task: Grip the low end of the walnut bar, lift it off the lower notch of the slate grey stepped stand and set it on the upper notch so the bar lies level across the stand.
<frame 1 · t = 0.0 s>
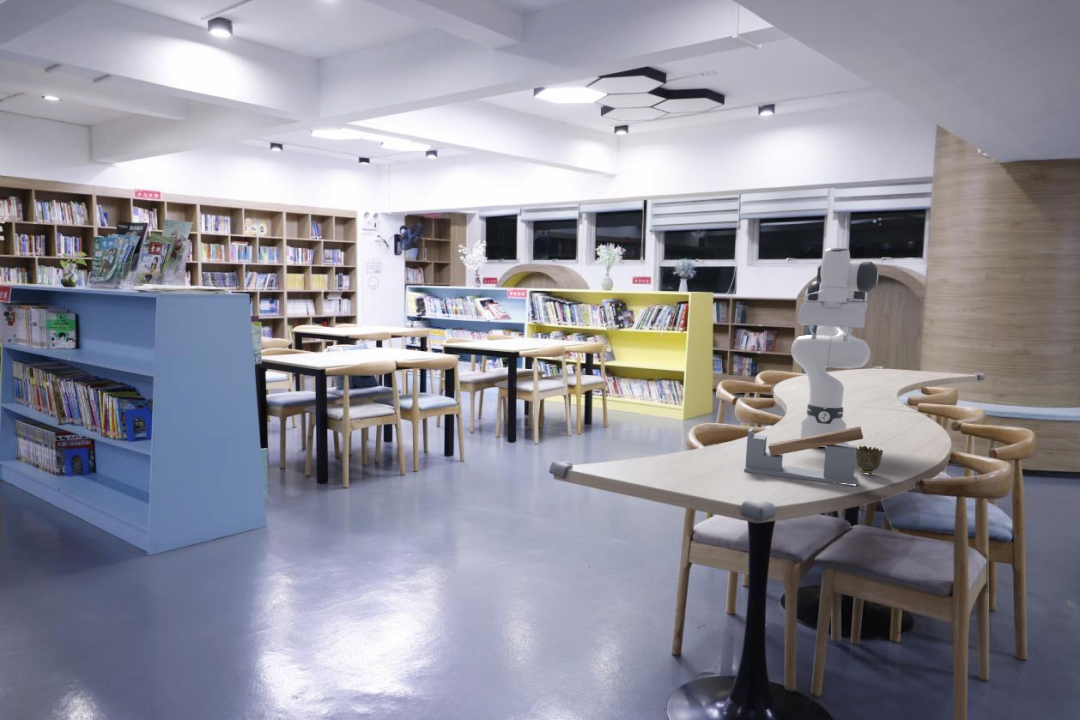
hand: (829, 340, 238), 39 cm above the table, tool pointing down, fingers open, 8 cm apart
walnut bar: (770, 449, 222), point 6 cm above the table, touching notched stand
cup: (867, 475, 223), on the table
notched stand: (800, 474, 219), on the table
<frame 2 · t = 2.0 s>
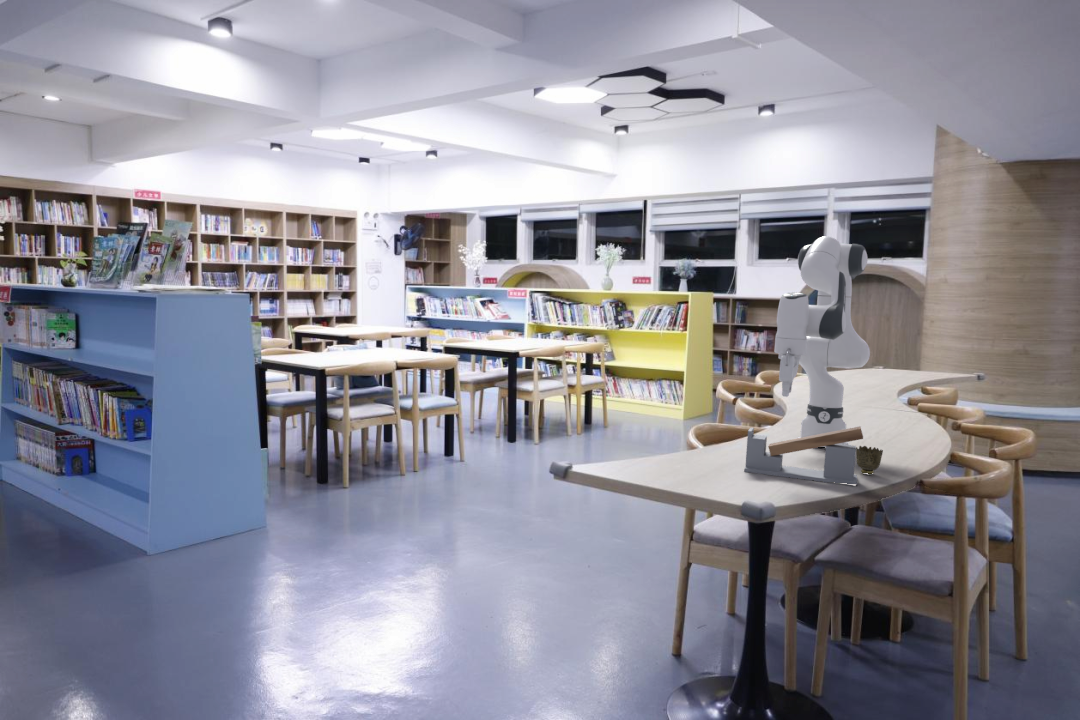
hand: (786, 394, 219), 24 cm above the table, tool pointing down, fingers open, 8 cm apart
nothing on the table moved.
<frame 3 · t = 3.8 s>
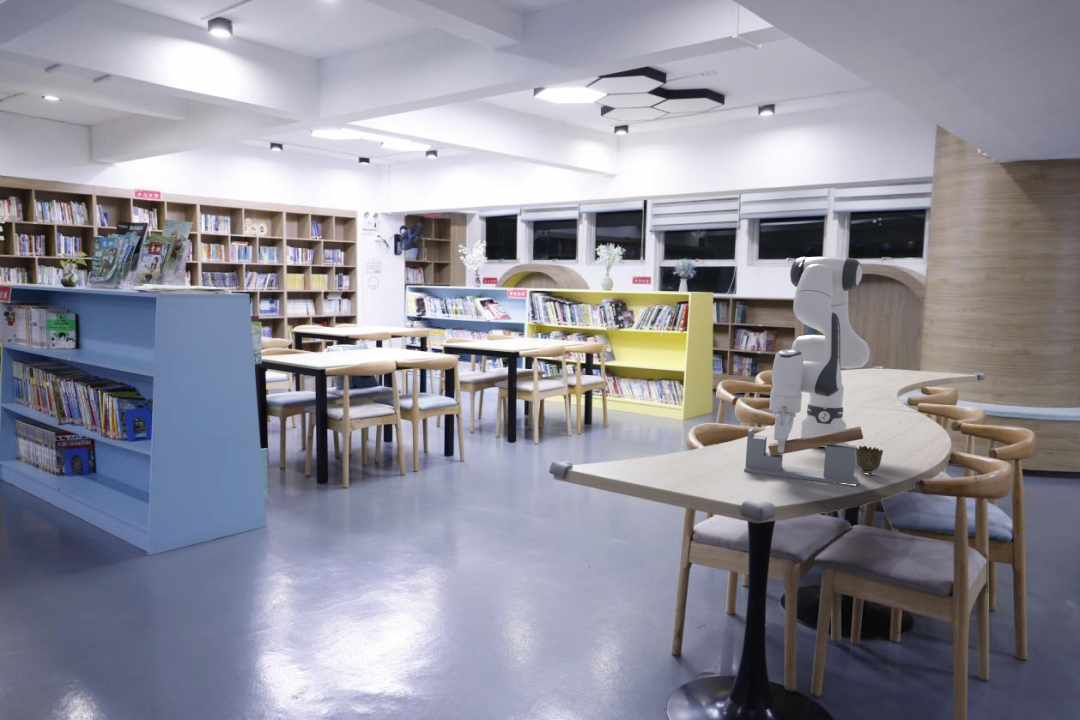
hand: (781, 450, 221), 7 cm above the table, tool pointing down, fingers closed on walnut bar, 4 cm apart
walnut bar: (770, 449, 222), point 6 cm above the table, touching gripper, notched stand
everything else where it was.
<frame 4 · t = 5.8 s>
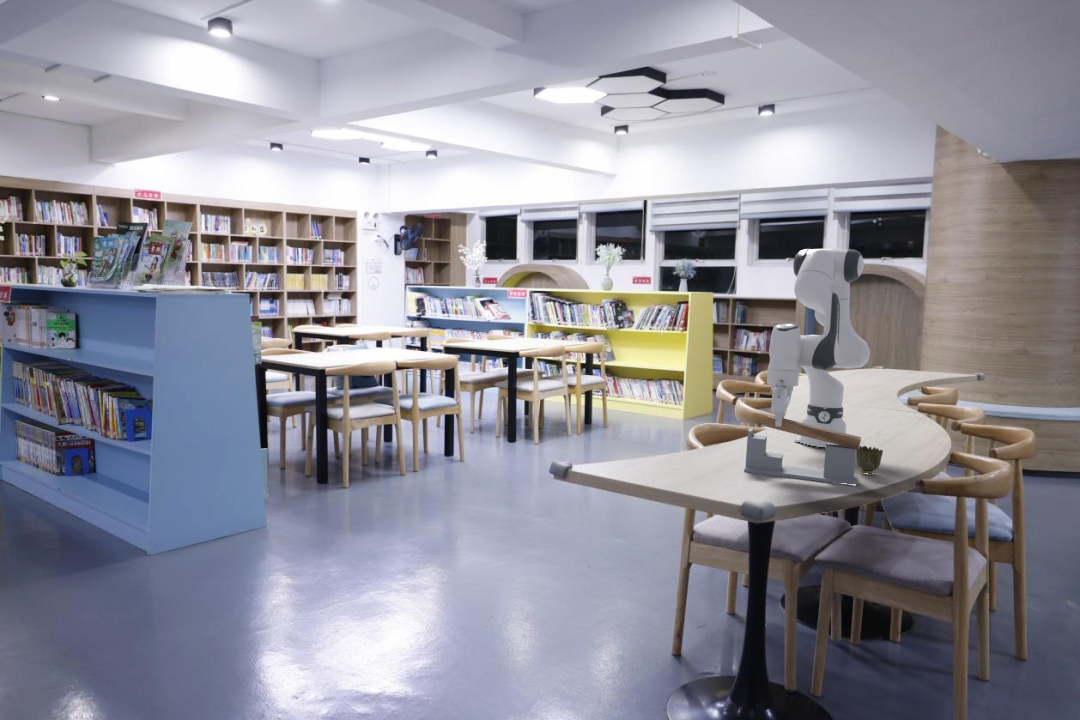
hand: (779, 424, 220), 14 cm above the table, tool pointing down, fingers closed on walnut bar, 4 cm apart
walnut bar: (767, 420, 221), point 15 cm above the table, tilted 27°, touching gripper, notched stand
everything else where it was.
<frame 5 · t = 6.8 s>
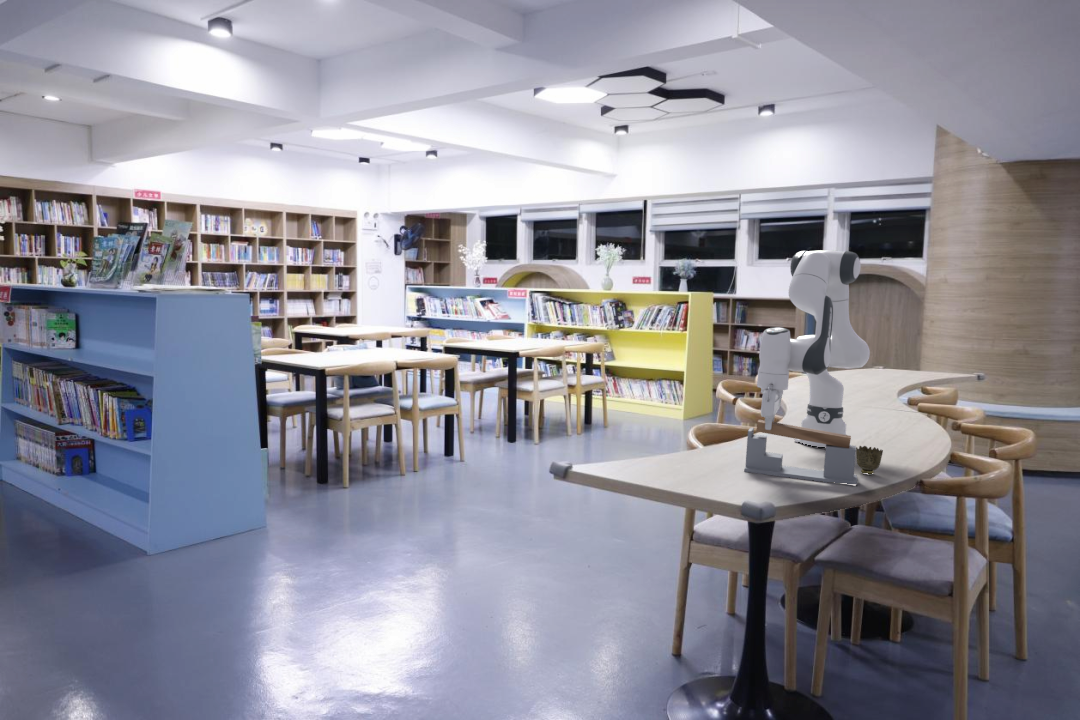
hand: (769, 428, 221), 13 cm above the table, tool pointing down, fingers closed on walnut bar, 4 cm apart
walnut bar: (757, 425, 223), point 13 cm above the table, tilted 23°, touching gripper, notched stand
everything else where it was.
when the fingers open (12 cm above the table, at t = 7.7 s): walnut bar stays where it is, resting on notched stand.
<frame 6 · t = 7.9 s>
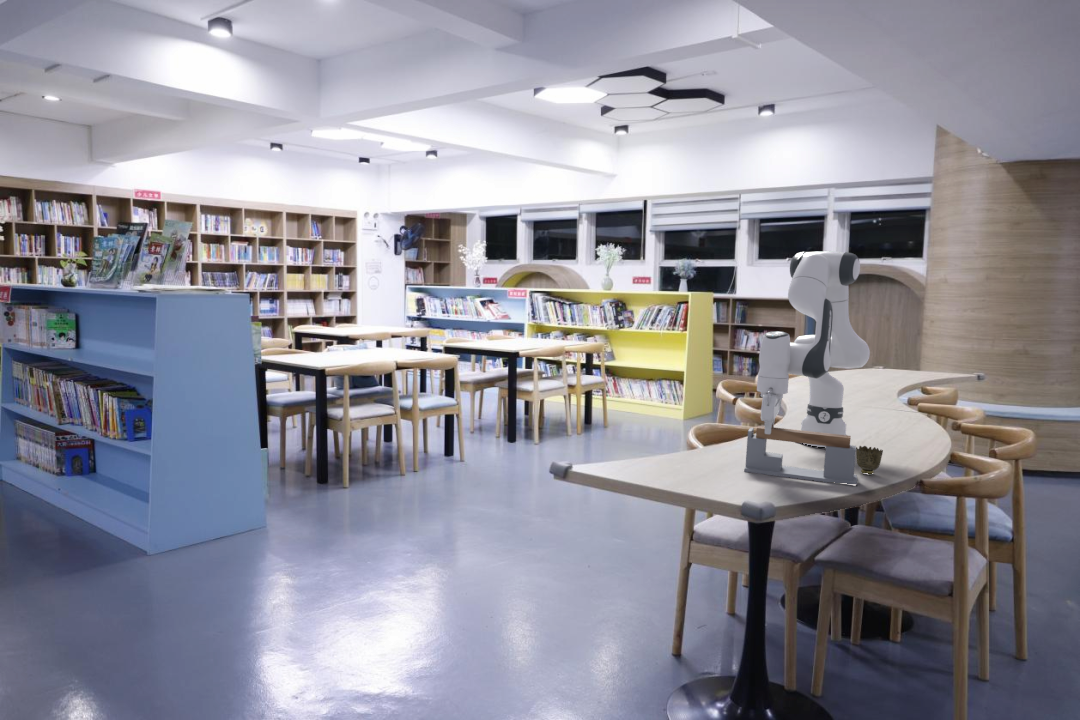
hand: (769, 431, 222), 12 cm above the table, tool pointing down, fingers open, 6 cm apart
walnut bar: (757, 431, 223), point 11 cm above the table, tilted 18°, touching notched stand
everything else where it was.
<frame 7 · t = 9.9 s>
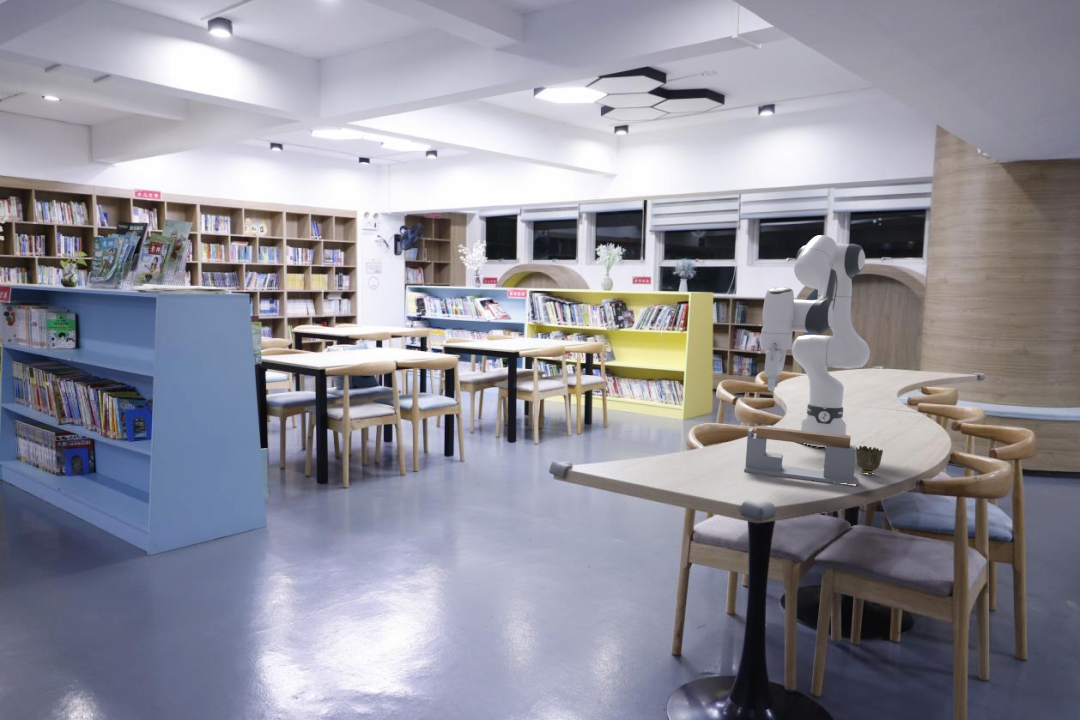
hand: (772, 388, 220), 25 cm above the table, tool pointing down, fingers open, 8 cm apart
nothing on the table moved.
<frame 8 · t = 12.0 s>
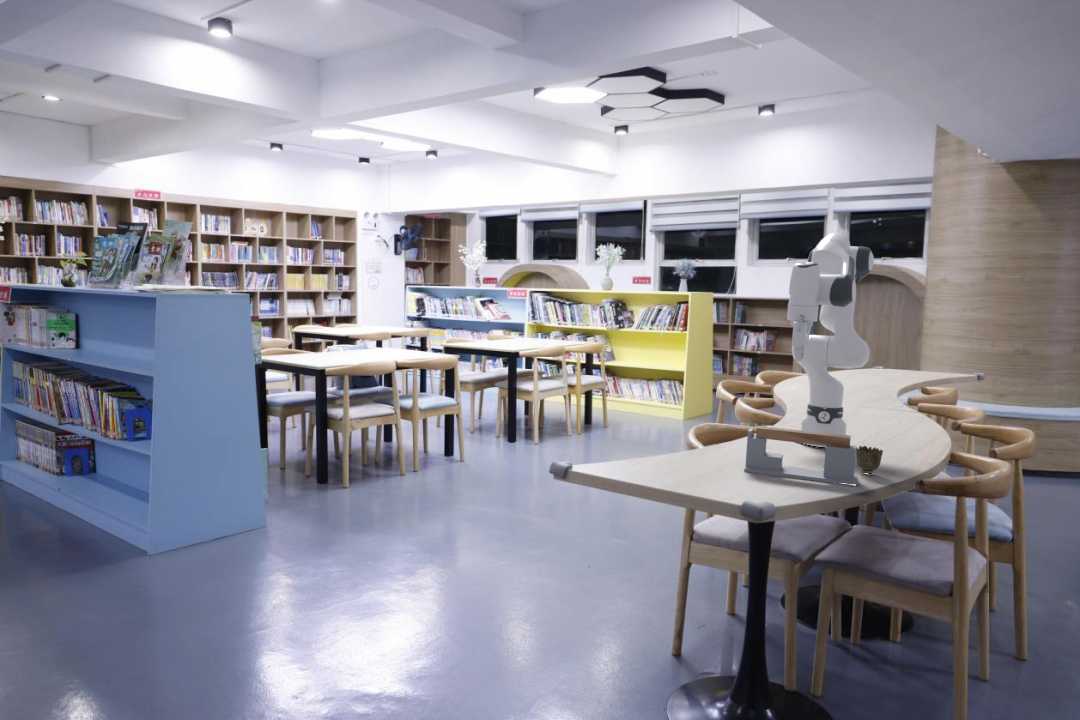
hand: (798, 359, 228), 33 cm above the table, tool pointing down, fingers open, 8 cm apart
nothing on the table moved.
at the end: walnut bar inside the target area (0.4 cm from its centre), point 11.5 cm above the table; walnut bar tilted 18° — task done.
